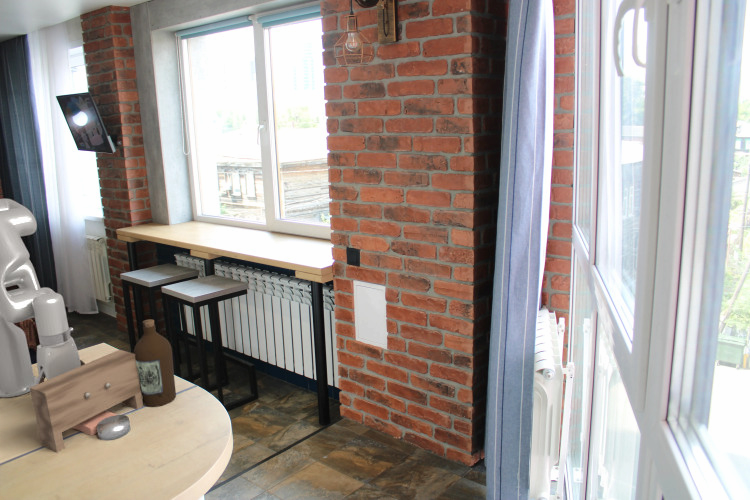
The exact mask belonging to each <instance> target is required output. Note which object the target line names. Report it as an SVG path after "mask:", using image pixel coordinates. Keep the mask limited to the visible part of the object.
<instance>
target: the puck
mask: <svg viewBox="0 0 750 500" xmlns="http://www.w3.org/2000/svg"><path fill="white" fill-rule="evenodd" d="M130 431H131V422H130V417H128V416H127V415H126V414H125V415H123V414H117V415H115V416H110V417H108V418H105V419H103V420H102V421H100V422H99V423H98V424H97V432H98V433H97V436H98V439H99V440H102V441H107V442H108V441H115V440H118V439H120V438H124V437H125V436H126V435H128V433H130Z"/></svg>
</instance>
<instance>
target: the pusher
mask: <svg viewBox="0 0 750 500" xmlns="http://www.w3.org/2000/svg"><path fill="white" fill-rule="evenodd" d="M115 415H118V414H117V413H114V412H111V411H109V410H105V411H103V412H101V413H99V414H97V415H95V416H93V417H91V418H89V419H87V420H85V421H83V422H81V423H79V424H77V425H75V426H73V427H71V429H75V430H77V431H80V432H82V433H85V434H87V435H89V436H94V435H95V434H98V432H97V424H98V423H99V422H100V421H102V420H103V419H105V418H108V417H110V416H115Z"/></svg>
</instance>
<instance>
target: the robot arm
mask: <svg viewBox="0 0 750 500" xmlns="http://www.w3.org/2000/svg"><path fill="white" fill-rule="evenodd" d="M37 227H38V224H37V219H36V217H35V216H34V214H33V213H32V212H31V210H30V209H29V208H27V207H26V206H24V205H22V204H20V203H19V202H18V201H15V200H14V199H11V198H0V398H12V397H18V396H21V395H24V394H27V393H31V390H30V387H33V386H35V385H37V384H40V383H42V382H44V381H45V379H46V381H47V380H49V379H51V378H54V377H56V376H59V375H61V374H63V373H66V372H68V371H70V370H73V369H75V368H77V367H80V366H82V365H85V364H86V363H85V362H84V361H83V360H82V359H81V358H80V354H79V350H78V347H77V345H76V342H75V340H74V338H73V337H72V336H71V333H72V332H74V328H73V327H71V326H70V327H69V323H68V317H67V311H66V305H65V301H64V297H63V296H62V295H61V294H60V293H58V292H55V291H54V290H53V289H51V288H50V287H41V286H40V283H39V280H38V277H37V273H36V270H35V267H34V266H33V263H32V262H31V260H30V253H29V251H28V249H27V247H26V245H25V243H24V241H23V239H22V238H21V237H25V236H30V235H33V234H34V233H35V232H37ZM16 285H17V286H18V288H17V289H11V290H7V288H9V287H12V286H16ZM33 318H34V320H35V325H36V330H37V335H38V339H39V344H38V345H37V346H36V363H37V364H36V365H37V366H36V367H37V371H38V372H37V373H38V376H35V375H34V371H33V366H32V362H31V361H32V360H31V355H30V351H29V346H28V340H27V336H26V333H25V331H24V330H23V329H22V328H21V327H19V326H17V325H15V324H16V323H20V322H23V321H26V320H30V319H33Z"/></svg>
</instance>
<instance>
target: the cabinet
mask: <svg viewBox="0 0 750 500" xmlns="http://www.w3.org/2000/svg"><path fill="white" fill-rule="evenodd" d="M133 353H134V352H130V351H127V350H126V351H125V350H122V349H118V350H115V351H113V352H111V353H108V354H106V355H103V356H101V357H98V358H97V359H94V360H91V361H90V362H87V363H85V365H82V366H80V367H77V368H75V369H73V370H70V371H68V372H66V373H63V374H61V375H59V376H56V377H54V378H51V379H49V380H47V379H46V380H44V382H42V383H40V384H37V385H35V386H33V387H30V390H31V391H30V394H31V400H32V403H33V409H34V415H35V420H36V424H37V428H38V433H39V438H40V443H41V446H43V447H45V448H47V449H50V450H52V451H53V452H55V453H58V452H60V451H62V450H65V441H64V439H63V433H64V432H65V431H68V430H69V429H72V427H73V426H75V425H77V424H79V423H81V422H83V421H85V420H87V419H89V418H91V417H93V416H95V415H97V414H99V413H101V412H103V411H105V410H106V411H108V409H110V408H112V407H114V406H116V405H118V404H120V403H121V404H122V405H123V406H127V407H130V408H133V409H136V410H138V409H141V408H142V407H143V406H144V403H143V400H142V394H141V389H140V383H139V376H138V370H137V364H136V359H135V354H133Z"/></svg>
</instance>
